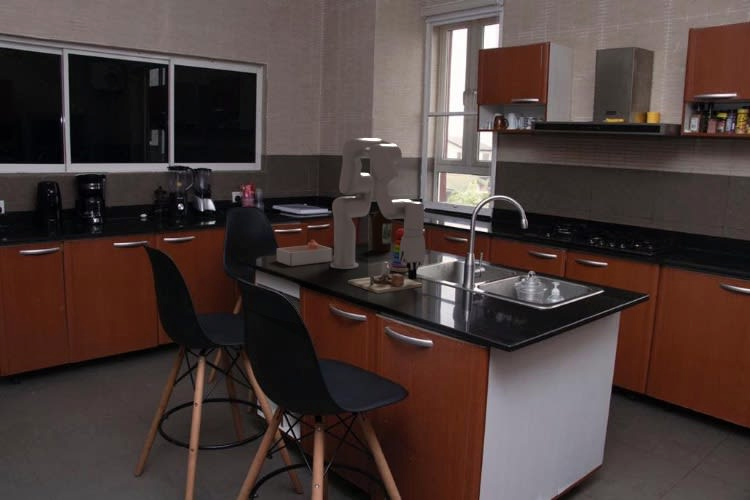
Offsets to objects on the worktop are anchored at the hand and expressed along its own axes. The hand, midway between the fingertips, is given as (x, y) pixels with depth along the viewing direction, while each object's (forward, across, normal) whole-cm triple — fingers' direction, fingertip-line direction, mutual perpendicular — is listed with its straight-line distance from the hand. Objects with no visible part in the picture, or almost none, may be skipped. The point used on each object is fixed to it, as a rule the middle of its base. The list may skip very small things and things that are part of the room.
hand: (412, 279), depth 261 cm
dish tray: (+3, +14, -66) cm, 67 cm away
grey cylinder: (+2, +11, -8) cm, 13 cm away
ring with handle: (+2, +7, -5) cm, 9 cm away
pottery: (+3, +15, -65) cm, 67 cm away
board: (+3, +7, -8) cm, 11 cm away
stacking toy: (+3, -14, -27) cm, 31 cm away
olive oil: (+3, -34, -72) cm, 80 cm away
